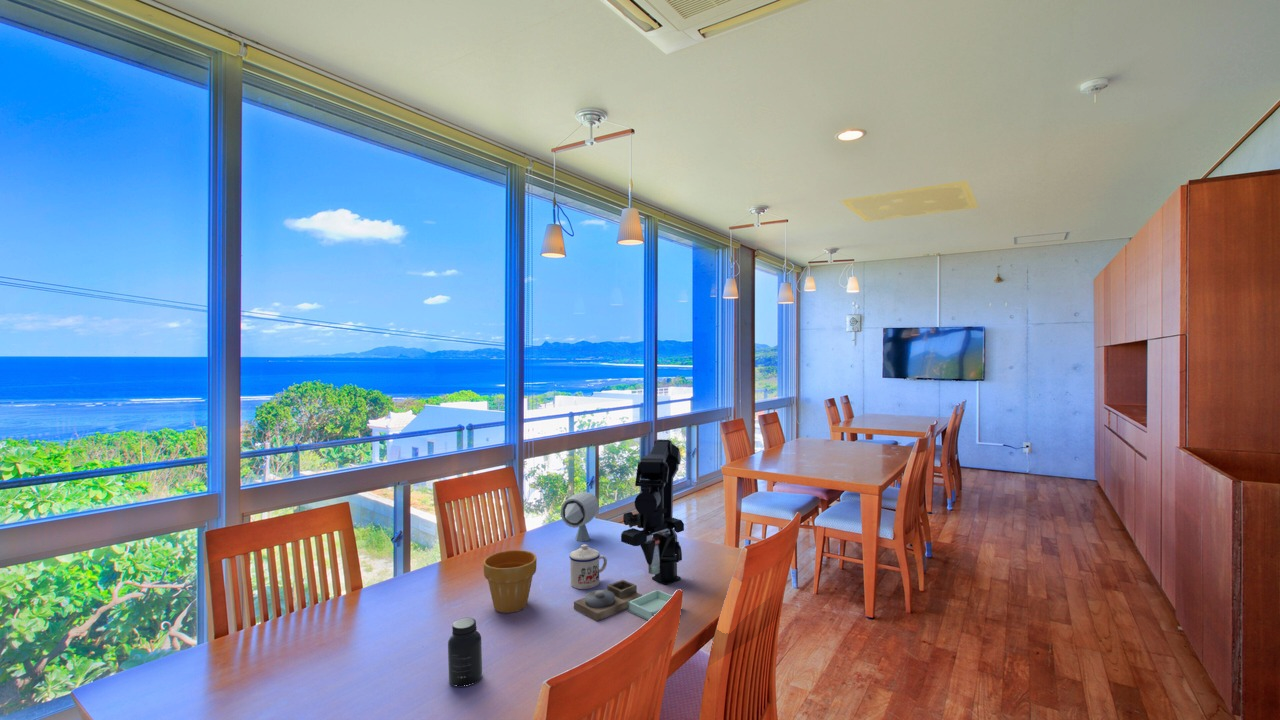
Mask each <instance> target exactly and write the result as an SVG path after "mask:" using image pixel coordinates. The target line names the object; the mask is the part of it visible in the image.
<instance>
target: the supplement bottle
mask: <svg viewBox="0 0 1280 720" xmlns="http://www.w3.org/2000/svg"><path fill="white" fill-rule="evenodd" d="M451 628H452V630H451V632H452V633H451V634H452V635H451V636H450V637H449V639H448V640H447V659H448V682H449V684H450V685H452V684H453V685H457V686H464V685H465V686H466V685H469V684H472V683H474V684H476V683H478V682H479V681H480V680H481V678H482V675H483V657H482V656H483V652H482V651H483V650H482V648H483V647H482V635H481V634H480V632H479V631H478V630H477V620H476V619H475V618H473V617H463V618H460V619H457V620H455V621H454V622H453V623H452V626H451ZM475 682H476V683H475ZM453 685H452V686H453ZM472 685H473V684H472ZM466 687H467V686H466Z"/></svg>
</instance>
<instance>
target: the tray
mask: <svg viewBox="0 0 1280 720" xmlns="http://www.w3.org/2000/svg"><path fill="white" fill-rule="evenodd" d="M672 596H673V595H672V594H670V593H667V592H665V591H662V590H660V589H655V590H653V591H650V592H648V593H646V594H642V596H641V597H638V598H636V599H634V600H631V601H629V602H628V608H627V612H629V613H631V614H633V615H635V616H637V617H639V618H642V619H643V620H646V621H647V620H649V619H650V618H651V617H652V616H654V614H656V613H657V612H658V611H659V610H660V609H661V608H662V607H663V606H664V604H665V603H666V602H667V601H668V600H669V599H670V598H671V597H672Z"/></svg>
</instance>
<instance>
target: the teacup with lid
mask: <svg viewBox="0 0 1280 720" xmlns="http://www.w3.org/2000/svg"><path fill="white" fill-rule="evenodd" d="M580 546H581V547H579V548H578V549H574V550H573V551H571V552H570V554H569V560H570V565H569V566H570V568H569V569H570V586H571V587H573V588H575V589H578V590H587V589H588V590H590V589H593V588H596V587H597V586H599V584H600V573H602V572H603V571H605V569H607V568H606V567H607V565H608V560H607V557H606V556H605V555H602V554H600V552H599V551H598V550H597V549H595V548H592V547H589V545H588V544H585V543H584V544H582V545H580ZM600 559H603V564H602V566H601V567H600Z"/></svg>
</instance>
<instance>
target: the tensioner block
mask: <svg viewBox="0 0 1280 720" xmlns="http://www.w3.org/2000/svg"><path fill="white" fill-rule="evenodd" d="M637 590H638V589H637V584H634V583H632V582H630V581H627V580H624V579H621V580H618V581H616V582H613V583H610V584H608V585H607V587H606V589H596V590H592V591H588V592H587V593H586V594H585V596H584V597H582V598H580V599H577V600H575V601H573V610H574V611H576V612H579V613H581V614H583V615H585V616H586V617H588V618H591V619H592V620H594V621H596V622H599V621H602V620H604V619H606V618H608V617H611V616H613V615H616V614H617V613H620V612H622V611H625V610H628V602H629V601H631V600H634V599H636V598H638V597H641V596H643V594H641V593H639V592H637Z"/></svg>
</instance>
